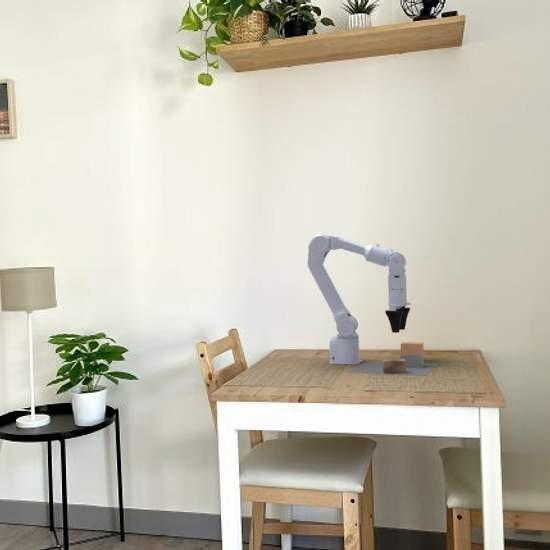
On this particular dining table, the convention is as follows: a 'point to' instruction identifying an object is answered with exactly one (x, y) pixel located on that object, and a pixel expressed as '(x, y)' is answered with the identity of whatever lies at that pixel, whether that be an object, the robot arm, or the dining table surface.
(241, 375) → the dining table surface
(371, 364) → the felt mat
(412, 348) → the brick terracotta
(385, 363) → the brick walnut
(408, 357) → the brick slate
